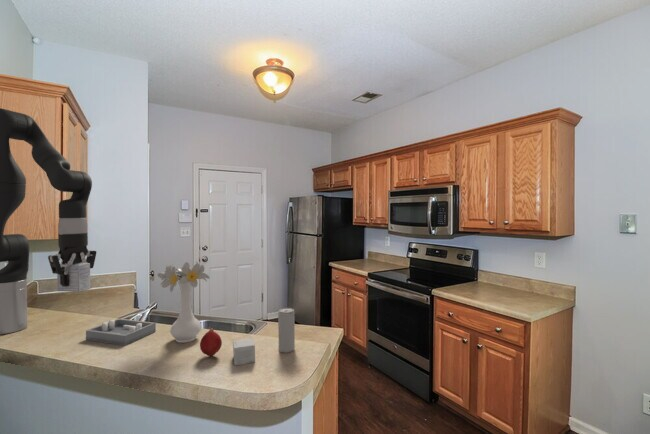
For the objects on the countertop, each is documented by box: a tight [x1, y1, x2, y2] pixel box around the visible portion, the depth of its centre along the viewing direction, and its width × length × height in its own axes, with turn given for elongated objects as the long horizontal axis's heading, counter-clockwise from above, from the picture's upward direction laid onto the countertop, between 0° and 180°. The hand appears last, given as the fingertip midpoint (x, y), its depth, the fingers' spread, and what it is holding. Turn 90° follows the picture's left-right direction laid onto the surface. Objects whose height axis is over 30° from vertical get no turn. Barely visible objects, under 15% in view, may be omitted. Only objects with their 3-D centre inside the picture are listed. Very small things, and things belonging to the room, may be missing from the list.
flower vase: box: [157, 261, 211, 344], centre depth 104 cm, size 13×18×25 cm
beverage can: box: [277, 307, 296, 354], centre depth 96 cm, size 5×5×12 cm
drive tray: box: [85, 318, 157, 346], centre depth 107 cm, size 16×12×4 cm
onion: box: [199, 328, 223, 358], centre depth 92 cm, size 6×6×8 cm
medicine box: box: [56, 263, 92, 292], centre depth 105 cm, size 8×4×9 cm, turn 84°
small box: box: [232, 337, 256, 366], centre depth 90 cm, size 6×6×5 cm
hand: (74, 284), depth 105 cm, fingers closed on medicine box, 5 cm apart
